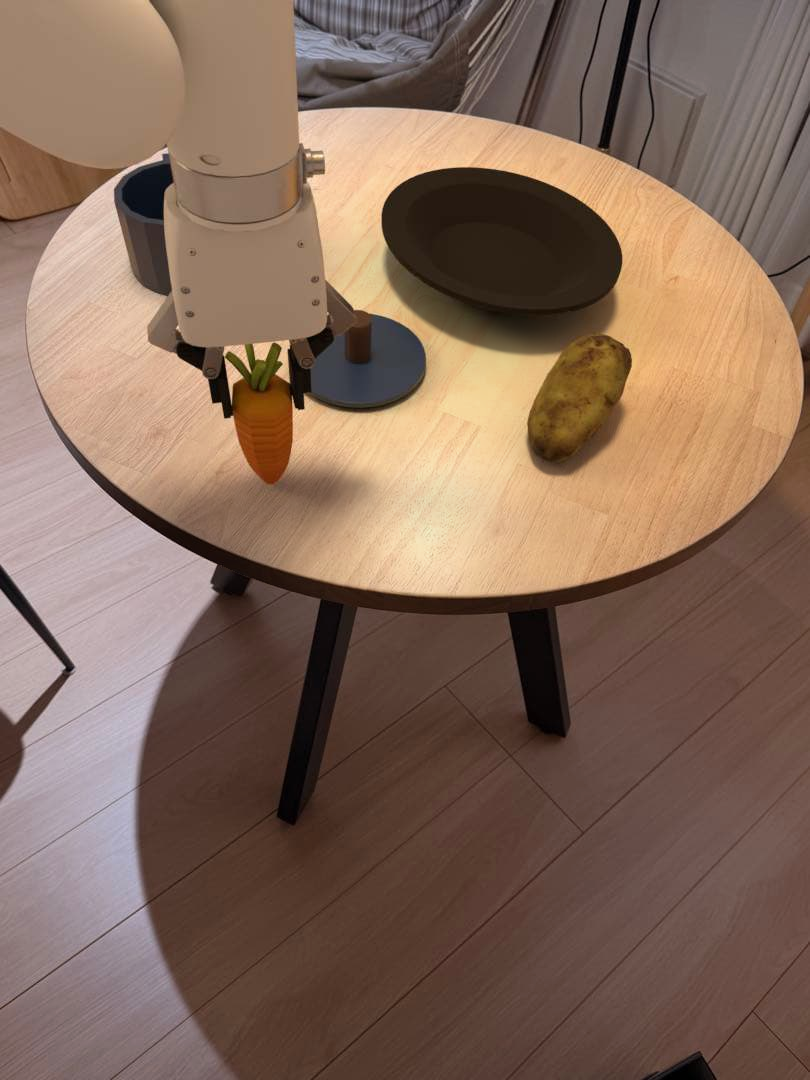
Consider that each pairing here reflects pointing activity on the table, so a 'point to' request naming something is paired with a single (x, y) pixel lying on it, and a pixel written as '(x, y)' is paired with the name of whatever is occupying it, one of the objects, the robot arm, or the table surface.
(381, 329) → the lid
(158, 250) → the pot
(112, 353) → the table surface
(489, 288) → the plate
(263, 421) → the carrot
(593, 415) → the potato
